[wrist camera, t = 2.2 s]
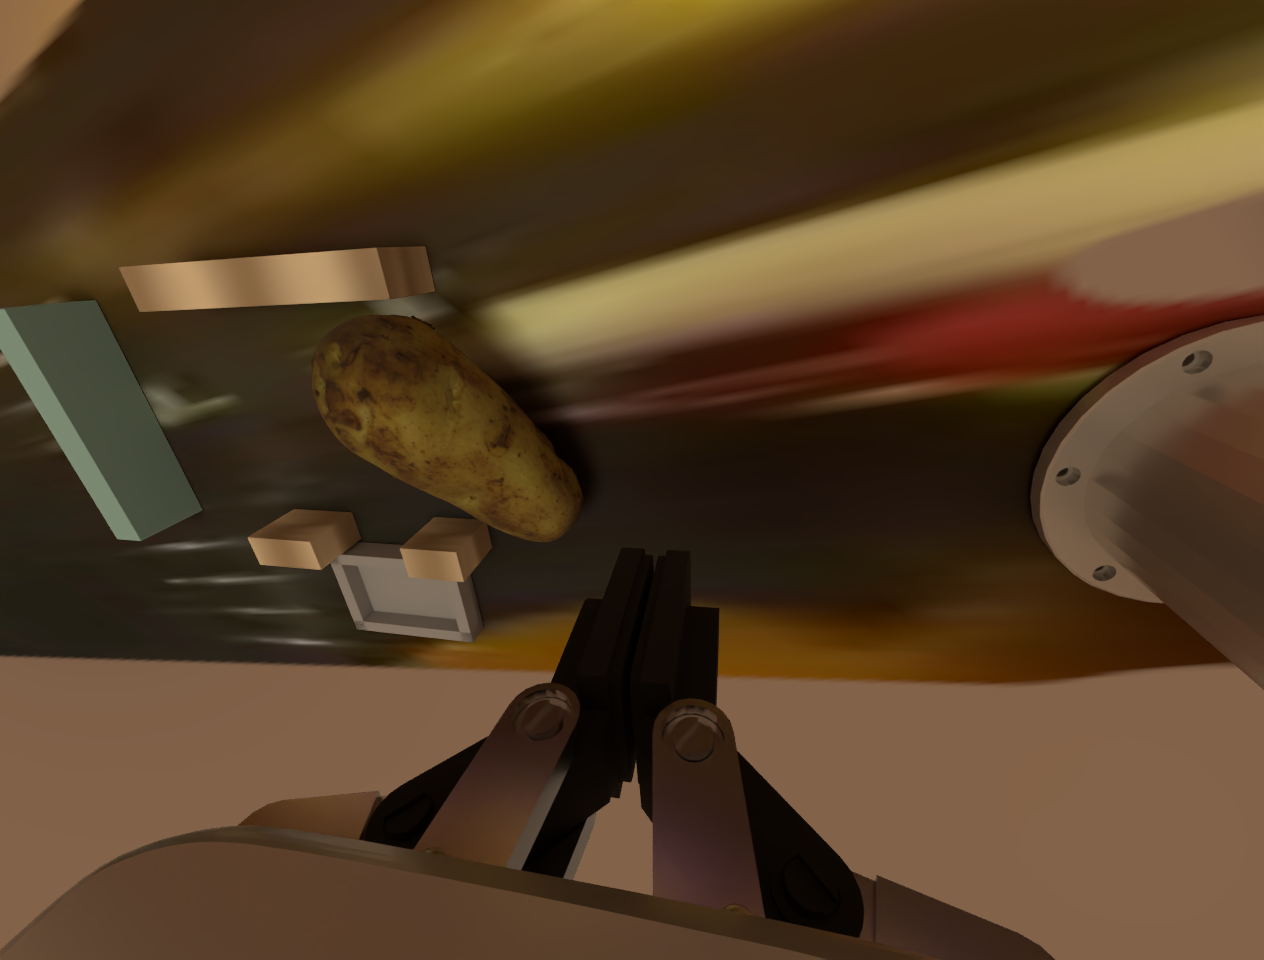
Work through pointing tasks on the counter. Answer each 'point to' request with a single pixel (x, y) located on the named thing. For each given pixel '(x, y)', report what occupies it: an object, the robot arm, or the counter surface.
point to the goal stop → (98, 414)
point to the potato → (441, 425)
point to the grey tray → (404, 596)
